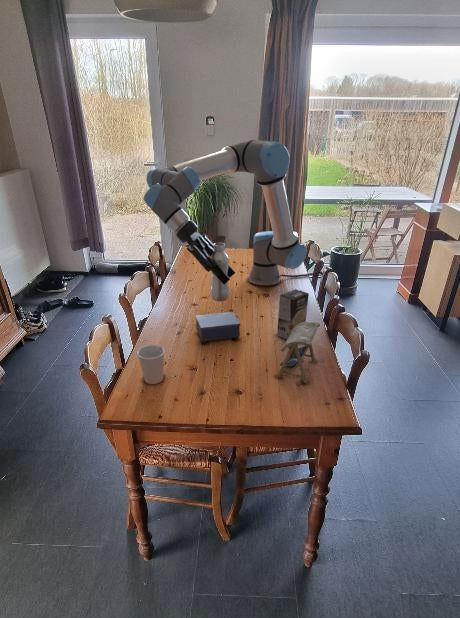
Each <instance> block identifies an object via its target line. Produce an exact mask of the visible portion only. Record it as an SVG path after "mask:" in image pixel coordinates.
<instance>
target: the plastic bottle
mask: <svg viewBox="0 0 460 618" xmlns="http://www.w3.org/2000/svg"><path fill="white" fill-rule="evenodd" d="M213 244H214V248H213V249H214V252H213V253H212V255H211V257H210V256H209V257H210V258H211V259H212V261H213V262H214V264H215V266H216V265H218V266H219V268H220V269H221V270H222V271H223V272H224V273H225V274H226V275H228V265H229V266H230V264H229V263H230V258H229V256H228V254H227V253H226V244H225V243H224V242H214V243H213ZM210 273H211V286H210V297H211V299H212V300H213V301H215V302H225V301H228V299H229V298H230V288H229V281H228V282H227V283H226V284H225V285H224V284H223V283H222V282H221V281H220V280H219V279H218V278H217V277H216V275H215V274H214V273H213V272H212V271H210Z"/></svg>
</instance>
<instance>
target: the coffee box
mask: <svg viewBox="0 0 460 618" xmlns="http://www.w3.org/2000/svg"><path fill="white" fill-rule="evenodd" d="M309 296H310V293H309V292H306V291H303V290H300V289H296V288H295V289H292V290H290V291H287V292H284V293H281V294H279V302H278V315H277V328H276V329H277V330H276V336H278V337H281V338H282V339H285V340H286V341H287V340H288V338H289V336H290V334H291V332H292V330H293V328H294V327H295V326H296V325H298V324H300V323H302V322H306V321H307V313H308V305H309Z"/></svg>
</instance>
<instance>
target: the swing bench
mask: <svg viewBox="0 0 460 618" xmlns="http://www.w3.org/2000/svg"><path fill="white" fill-rule="evenodd" d="M320 326H321V323H319V322H317V321H312V320H311V321H310V320H306V322H302V323H300V324H298V325H296V326H295V327H294V328H293V330H292V332H291V334H290V336H289V338H288V340H287V339H286V341H285V342H284V345H283V346H282V347H281V349H280V351H281V353H283V352H284V351H285V350H286V349H288V352H287V353H286V355H285V357H284V359H283V361H280V362H279V366H280V369H279V371H278V373H277V375H276V376H277V378H281V377H282V375H284V376H285V375H286V376H290V377H294V378H299V379H302V381H303V382H302V383H304V384H307V383H308V380H307V376H306V372H305V368H304V365H303V363H304V362H305V359H304V358H305V357H307V358H311V362H312V363H315V362H316V357H315V354H314V349H313V348H314V347H313V339H314V337H315V336H316V334H317V331H318V328H319V327H320ZM299 345H301V347H299ZM308 350H309V353H310V354H308ZM298 368H299V369H300V373H301V374H295V373H290V372H294V371H296V370H297V369H298ZM286 371H287V372H286Z"/></svg>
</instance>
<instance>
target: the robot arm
mask: <svg viewBox="0 0 460 618" xmlns="http://www.w3.org/2000/svg"><path fill="white" fill-rule="evenodd" d="M290 162H291V159H290V153H289V151H288V149H287V147H286V146H285V145H284V144H282V143H281V142H278V141H274V140H260V139H259V140H258V139H247V140H242V141H239V142H236V143H233V144H231V145H226V146H224V147H222V149H221V150H220V151H217V152H214V153H210V154H207V155H204V156H200V157H198V158H193V159H190V160H187V161H184V162H180V163H177V164H174V165H170V166H166V167H163V168H161V167H153V168H151V169H150V170H149V171H148V172H147V174H146V178H145V180H146V184H147V186H148V190H146V192H145V193H144V196H143V201H144V202H145V204H146V205H147V206H148V208H149V209H150V210H151V211H152V212H153V213H154V214H155V215H156V216H157V217H158V218H159V220H161V221H162V222H163V223H164V225H165V226H166V227H167V229H168V230H170V231H171V232H172V233H173V234H175V236H176V238H177V239H178V240H179V241H180V242H181V243H182V244H185V243H187V245H188V246H187V248H186V251H188V252H189V253H190V254H191V255H192V256H193V257H194V258H195V259H196V261H197V262H198V263H199V265H200V266H201V267H202V268H203V269H204V270H205V271H206V272H208V273H212V272H213V273H214V274H215V275H216V277H217V278H218V279H219V280H220V281H221V282H222V283H223V284H224V285H225V284H226V283H227V282H228V283H229V281H230V280H231V279H230V278H232V277H233V276H234V275H235V274H236V271H234V269H233V268H232V267H231V266H230V264H229V265H228V275H226V274H225V273H224V272H223V271H222V270H221V269H220V268H219V266H218V265H216V266H215V264H214V262H213V261H212V259H211V258H210V257H211V255H212V253H213V252H214V249H213V248H214V243H213V242H212V241H211V240H210V239H209V237H208V236H207V235H206V233H203V234H202V235H201V234H200V233H199V232H198V230H199V226H198V225H197V224H196V223H195V222H194V220H192V219H191V217H190V215H188V214H187V212H185V210H184V209H183V208H182V207H181V206H180V205H181V204H182V203H183V202H184V201H186V200H187V199H188V198H189V197H190V196H192V194H194V193H196V191H197V190H198V188H200V187H201V185H202V184H201V183H202V182H201V181H204V180H206V179H209V178H213V177H215V176H219V175H221V174H225V173H228V174H234V173H248V174H253V175H254V176H255V180H256V184H257V185H258V186H261V188H262V192H263V197H264V201H265V205H266V209H267V214H268V218H269V222H270V226H271V230H268V231H261V232H257V233H255V234H254V236H253V242H252V243H253V244H252V266H251V269H250V272H249V274H248V282H249V283H250V284H252V285H254V286H258V287H259V286H260V287H272V286H276V285H278V284H280V283H281V277H286V278H287V277H288V278H298V277H308V276H314V275H317V274H321V275H323V274H322V272H323V271H321V270H318V271H315V272H313V273H304V274H281V273H280V269H279V266H280V267H283V268H285V269H290V270H296V269H298V268H299V267H300V266H301V265H302V264H303V263H304V260H305V258H306V256H307V246H306V244H304V243H302V242H300V239H299V236H298V233H297V232H296V231H294V227H293V223H292V217H291V212H290V207H289V202H288V197H287V192H286V187H285V181H284V180H285V179H286V178H287V177H286V176H287V172H288V171H289V165H290ZM211 271H212V272H211Z"/></svg>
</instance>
